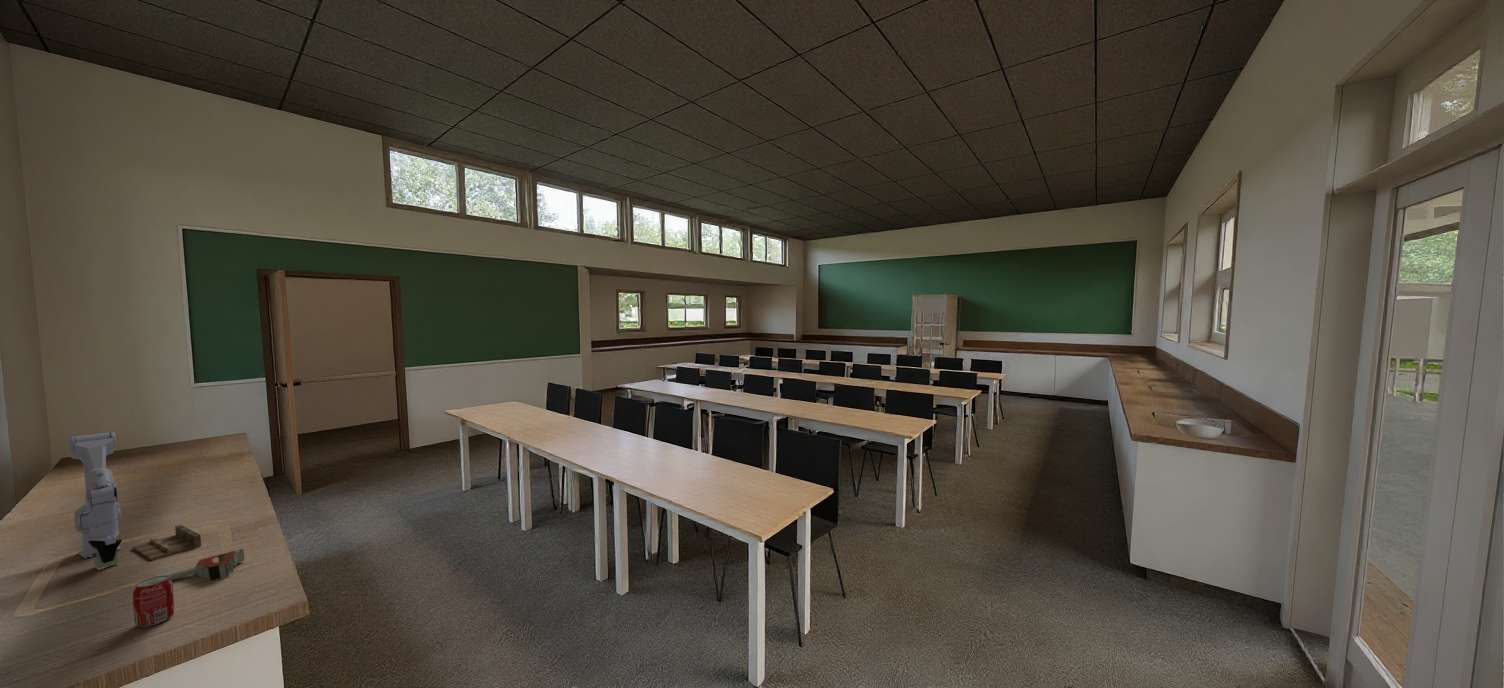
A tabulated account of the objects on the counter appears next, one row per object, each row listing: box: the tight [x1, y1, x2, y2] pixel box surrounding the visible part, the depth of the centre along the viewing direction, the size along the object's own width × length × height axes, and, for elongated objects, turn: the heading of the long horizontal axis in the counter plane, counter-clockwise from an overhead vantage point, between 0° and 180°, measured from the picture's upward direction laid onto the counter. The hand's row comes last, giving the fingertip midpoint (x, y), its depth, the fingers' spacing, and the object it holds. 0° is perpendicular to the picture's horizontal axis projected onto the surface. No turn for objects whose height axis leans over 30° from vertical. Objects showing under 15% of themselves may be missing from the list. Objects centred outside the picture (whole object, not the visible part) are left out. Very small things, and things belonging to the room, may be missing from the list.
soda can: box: [132, 574, 175, 628], centre depth 133 cm, size 7×7×12 cm
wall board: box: [132, 524, 202, 561], centre depth 177 cm, size 20×12×4 cm, turn 64°
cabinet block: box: [91, 548, 119, 568], centre depth 163 cm, size 4×5×7 cm
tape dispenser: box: [154, 548, 245, 581], centre depth 159 cm, size 18×5×20 cm
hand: (106, 560), depth 163 cm, fingers closed on cabinet block, 4 cm apart
